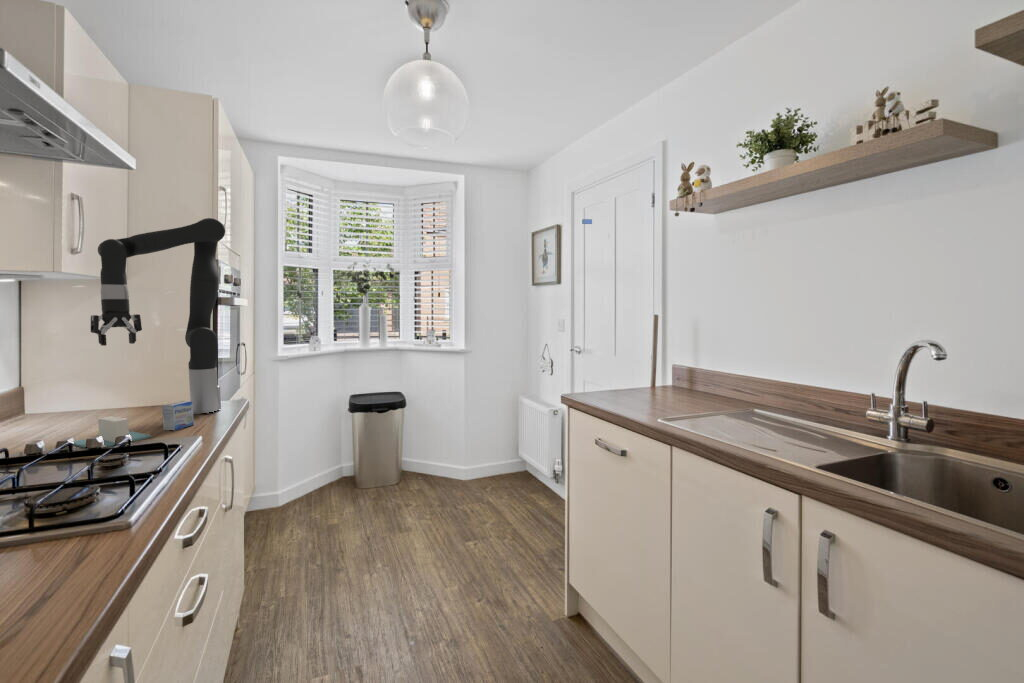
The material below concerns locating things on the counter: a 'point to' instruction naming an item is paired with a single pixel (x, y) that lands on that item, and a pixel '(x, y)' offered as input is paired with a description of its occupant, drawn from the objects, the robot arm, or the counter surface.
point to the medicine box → (177, 415)
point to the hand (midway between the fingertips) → (118, 344)
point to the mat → (134, 435)
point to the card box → (113, 427)
